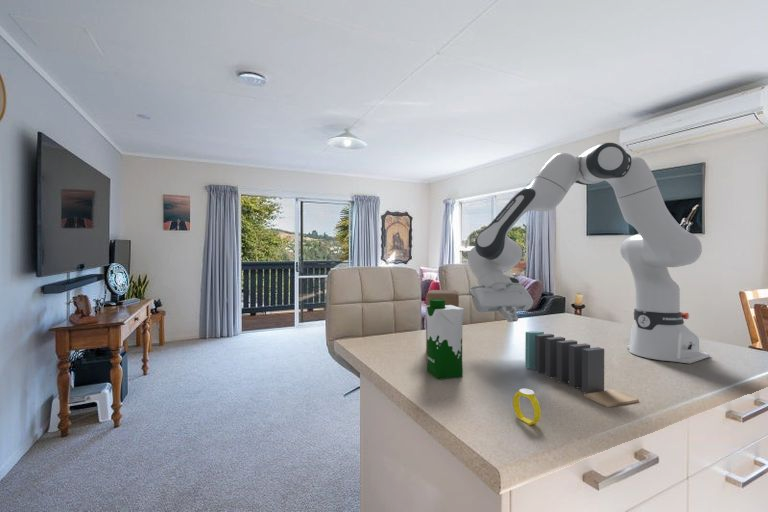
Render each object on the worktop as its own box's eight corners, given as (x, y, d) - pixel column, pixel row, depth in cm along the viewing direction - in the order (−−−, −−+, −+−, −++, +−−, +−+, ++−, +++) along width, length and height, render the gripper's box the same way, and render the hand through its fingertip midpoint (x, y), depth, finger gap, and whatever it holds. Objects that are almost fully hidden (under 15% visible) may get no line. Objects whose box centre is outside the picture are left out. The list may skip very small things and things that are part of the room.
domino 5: (568, 385, 87) (568, 345, 87) (584, 383, 89) (584, 343, 89) (574, 388, 86) (574, 346, 85) (590, 385, 87) (590, 344, 87)
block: (458, 358, 110) (458, 293, 110) (425, 356, 112) (425, 292, 112) (458, 349, 119) (458, 290, 119) (428, 348, 121) (428, 289, 121)
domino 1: (525, 367, 101) (525, 331, 101) (539, 365, 103) (539, 330, 103) (529, 368, 100) (529, 333, 100) (543, 367, 102) (543, 331, 101)
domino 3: (545, 375, 94) (545, 338, 94) (560, 373, 96) (560, 336, 96) (550, 377, 93) (550, 339, 93) (565, 375, 94) (565, 337, 94)
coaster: (613, 391, 83) (613, 389, 83) (638, 401, 78) (638, 399, 78) (583, 396, 81) (583, 394, 81) (608, 407, 75) (608, 404, 75)
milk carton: (422, 370, 99) (422, 298, 98) (452, 367, 101) (452, 296, 101) (436, 381, 90) (436, 302, 90) (468, 377, 93) (468, 300, 93)
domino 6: (581, 391, 83) (582, 349, 83) (598, 389, 85) (598, 347, 85) (587, 394, 82) (588, 350, 82) (604, 391, 84) (604, 348, 83)
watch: (543, 428, 67) (545, 397, 66) (531, 431, 66) (533, 399, 65) (520, 412, 72) (521, 384, 72) (509, 414, 71) (510, 386, 71)
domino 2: (535, 371, 98) (535, 334, 98) (549, 369, 99) (549, 333, 99) (539, 373, 96) (539, 336, 96) (554, 371, 98) (554, 334, 98)
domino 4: (556, 380, 91) (556, 341, 91) (571, 378, 92) (572, 339, 92) (561, 382, 89) (561, 342, 89) (577, 380, 91) (577, 341, 91)
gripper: (471, 280, 113) (489, 316, 104) (524, 279, 120) (545, 313, 111) (463, 292, 118) (480, 328, 109) (515, 291, 124) (534, 324, 115)
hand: (513, 320), depth 110 cm, fingers closed
